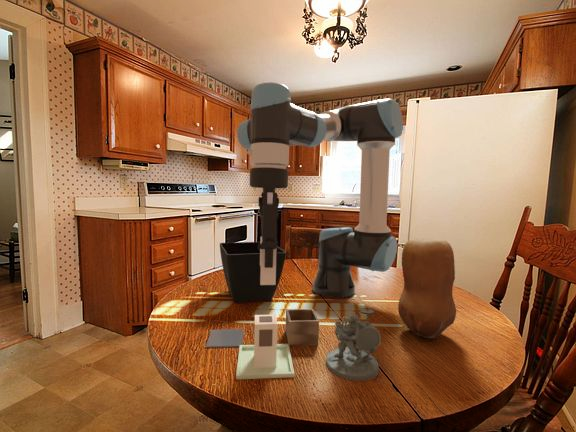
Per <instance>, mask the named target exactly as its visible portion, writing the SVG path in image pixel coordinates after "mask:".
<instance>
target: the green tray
mask: <svg viewBox="0 0 576 432" xmlns="http://www.w3.org/2000/svg"><path fill="white" fill-rule="evenodd" d="M238 348H239V349H238V357H237V365H236V374H235V380H251V379H253V380H256V379H257V380H258V379H259V380H260V379H261V380H263V379H284V378H285V379H286V378H295V369H294V365H293V359H292V354H291V349H290V346H289V344H288V343H277V360H276V367H275V368H254V344H242V345H240V347H238Z"/></svg>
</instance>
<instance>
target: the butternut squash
mask: <svg viewBox="0 0 576 432" xmlns="http://www.w3.org/2000/svg"><path fill="white" fill-rule="evenodd" d="M455 267H456V266H455V255H454V251H453V247H452V246H451V244H450V243H449V242H448V241H447V240H445V239H443V238H424V239H423V238H422V239H421V238H420V239H419V238H413V239H410V240H408V241H407V242H405V244H404V245H403V248H402V253H401V268H402V276H403V289H402V292H401V294H400V297H399V299H398V306H397V309H398V314H399V317H400V319H401V321H402V322H403V324H404V325H405V326H406V328H407V329H408V330H410V331H411V332H412V333H414V334H416V336H421V337H423V338H426V339H437V338H438V337H440V335H441V334H443V332H444V331H446V330H447V328H449V327H450V326H451V325H453V324H454V322H455V320H456V315H457V306H456V304H455V301H454V297H453V288H454V287H453V286H454V283H455V279H456V269H455Z"/></svg>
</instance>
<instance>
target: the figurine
mask: <svg viewBox="0 0 576 432" xmlns="http://www.w3.org/2000/svg"><path fill="white" fill-rule="evenodd" d="M360 314H363V315H366V321H361V319H360V317H359V316H358V315H357V314H356V313H355V314H354V313H353V314H351V315H349V317H348V318H347V316H342V319H341V321H340V320H339V321H338V320H337V321H335V323H334V325H335V326H336V327H335V329H334V331H333V333H334V334H335V336H336V338H337V340H338V341H339V343H338V345H337V348H335V349H332V350H331V351H329V352H328V353H327V354H326V358H325V363H326V366H327V369H329V371H331V373H333V375H336V376H337V377H340V378H342V379H345V380H347V381H348V380H349V381H355V382H356V381H358V382H362V381H369V380H371V381H372V380H374V379H375V378H377V377H378V374H379V372H380V369H379V367H380V364H379V362H378V360H377V358H375V357H374V355H373V353H374V352H375V351H377V349H378V348H379V347H380V345H381V342H382V336H381V334H380V331H379V330H378V329H377V328H376V327H374V325H372V324H371V322H369V316H373V315H375V310H373V309H370V308H369V307H366V308H363V309H360Z"/></svg>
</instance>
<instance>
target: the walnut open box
mask: <svg viewBox="0 0 576 432" xmlns="http://www.w3.org/2000/svg"><path fill="white" fill-rule="evenodd" d="M284 331H285V336H286V341H287V344H289V347H293V346H295V347H297V346H300V347H301V346H319V336H320V334H319V333H320V332H319V331H320V320H319V318H318V315H317V313H316V311H315V309H314V308H301V309H300V308H295V309H294V308H291V309H290V308H286V309H285V330H284Z"/></svg>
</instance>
